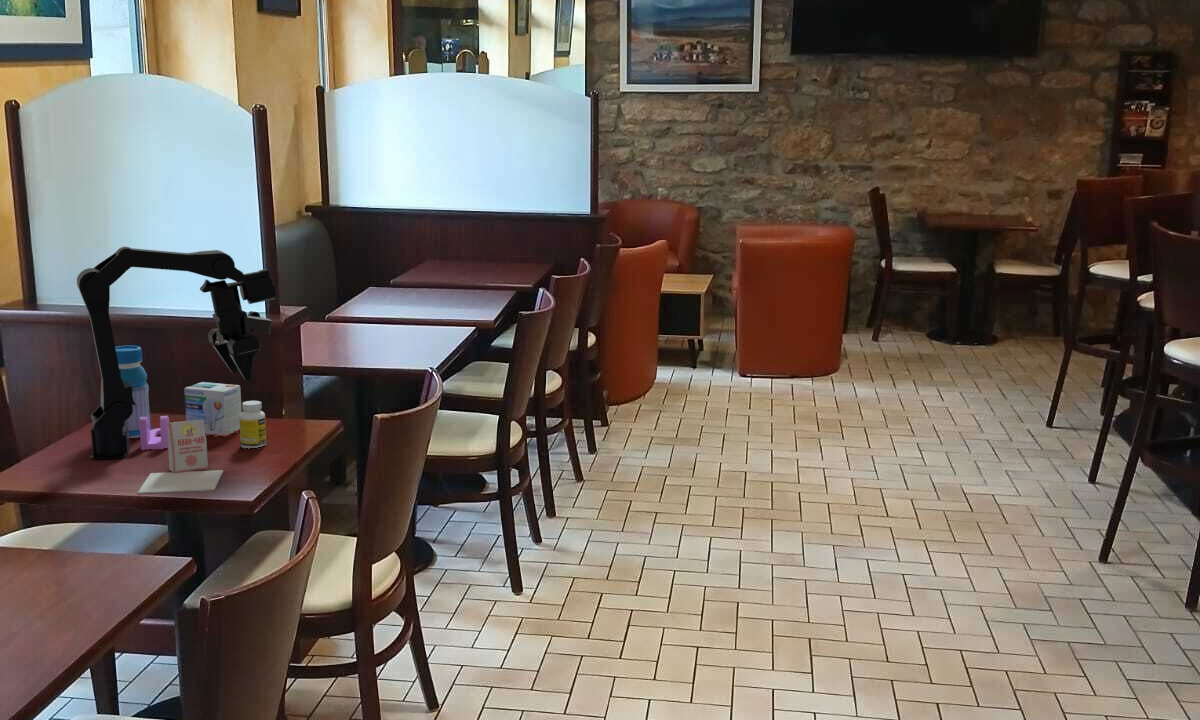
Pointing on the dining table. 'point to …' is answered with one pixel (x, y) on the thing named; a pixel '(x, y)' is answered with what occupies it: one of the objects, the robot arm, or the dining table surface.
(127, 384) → the robot arm
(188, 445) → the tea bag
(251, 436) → the supplement bottle
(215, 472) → the mat
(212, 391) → the light bulb box
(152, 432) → the bracket
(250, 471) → the dining table surface
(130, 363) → the beverage bottle
